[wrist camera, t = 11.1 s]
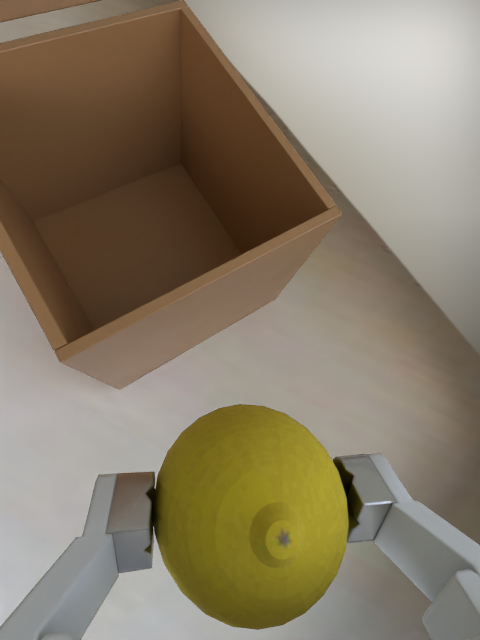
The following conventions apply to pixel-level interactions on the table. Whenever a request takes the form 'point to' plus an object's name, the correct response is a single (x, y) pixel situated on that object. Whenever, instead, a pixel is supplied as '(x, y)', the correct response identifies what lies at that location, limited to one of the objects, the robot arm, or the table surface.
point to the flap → (34, 7)
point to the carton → (144, 190)
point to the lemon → (250, 516)
